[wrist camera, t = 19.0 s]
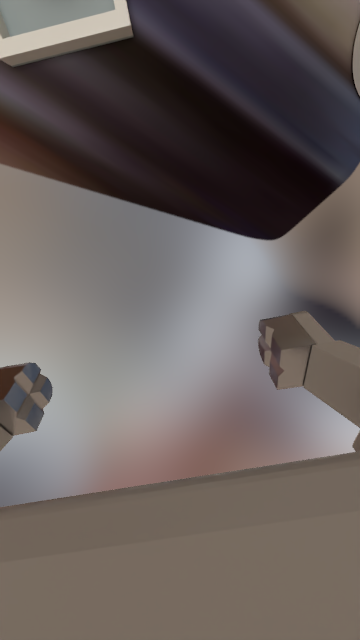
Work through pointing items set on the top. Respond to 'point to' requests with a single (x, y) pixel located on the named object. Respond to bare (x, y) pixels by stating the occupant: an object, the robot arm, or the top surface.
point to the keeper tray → (59, 27)
